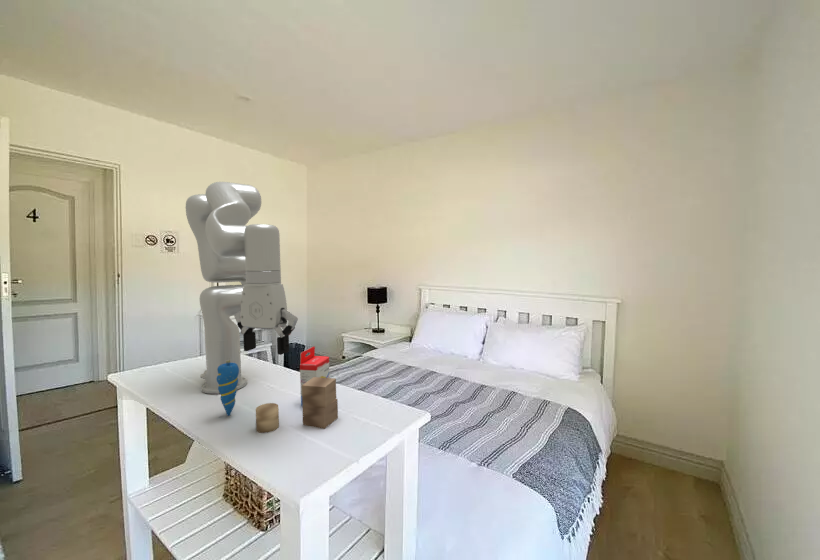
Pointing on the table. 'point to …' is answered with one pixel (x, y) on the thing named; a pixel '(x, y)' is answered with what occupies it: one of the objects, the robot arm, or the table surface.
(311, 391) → the top block
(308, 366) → the ink box
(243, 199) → the robot arm
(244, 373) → the table surface
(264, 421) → the beige knob
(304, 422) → the bottom block
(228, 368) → the ornament
